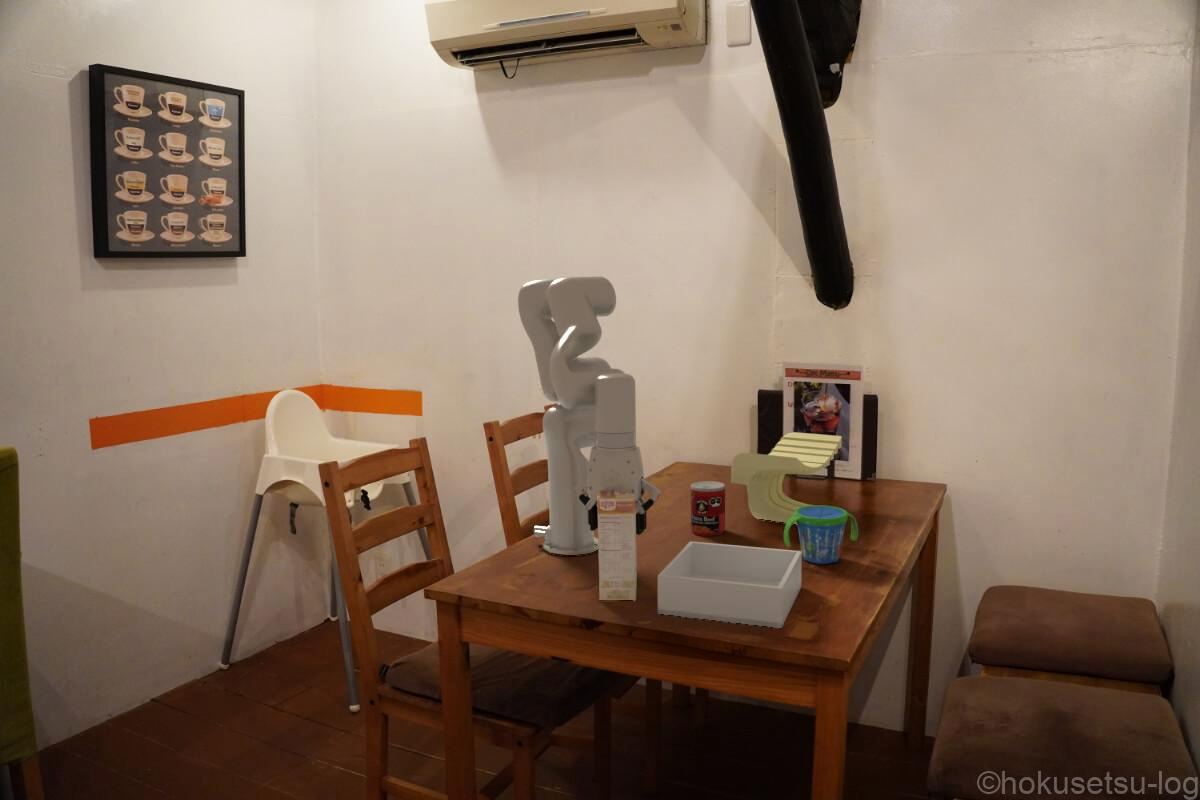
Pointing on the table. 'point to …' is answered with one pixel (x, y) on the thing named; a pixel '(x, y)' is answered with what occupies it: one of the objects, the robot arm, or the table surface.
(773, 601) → the bin
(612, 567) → the coffeecake box
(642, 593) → the table surface
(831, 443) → the slatted curved stool
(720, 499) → the canned food
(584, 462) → the robot arm
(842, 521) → the snack cup
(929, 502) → the table surface
